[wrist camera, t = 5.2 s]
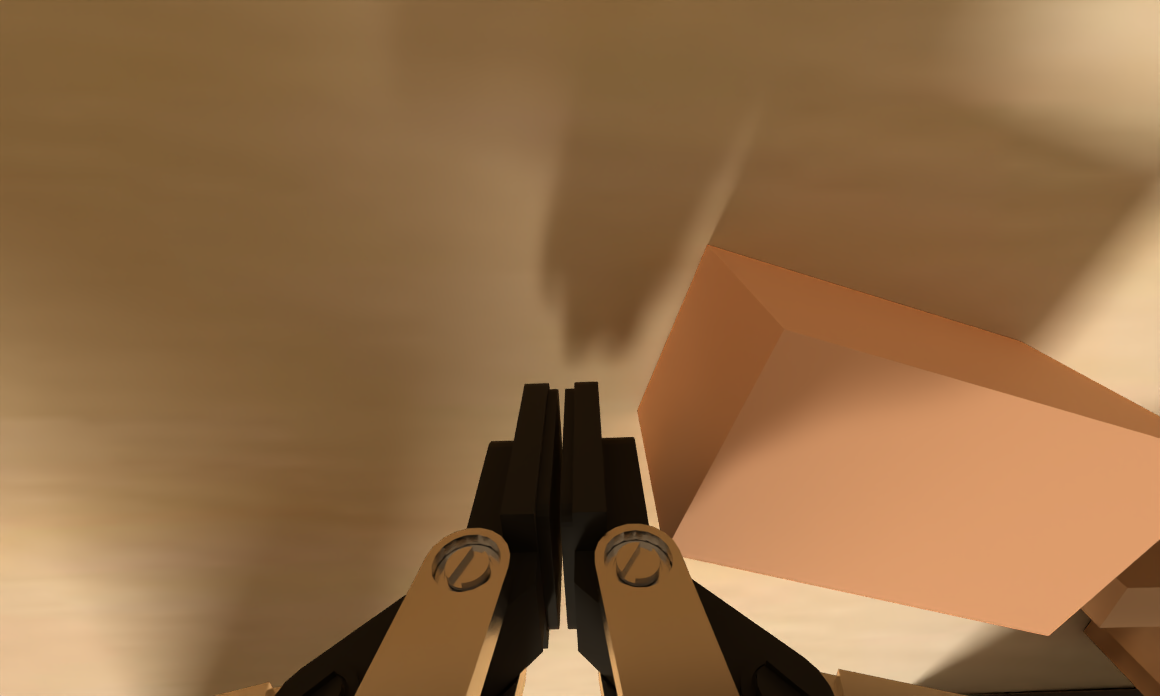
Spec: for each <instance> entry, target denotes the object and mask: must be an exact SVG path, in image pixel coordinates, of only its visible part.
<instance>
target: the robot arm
mask: <svg viewBox="0 0 1160 696" xmlns="http://www.w3.org/2000/svg"><path fill="white" fill-rule="evenodd" d="M562 556H563V569H564V583H565V596H566V610H567V624H568V629H577V638H578V651H579V652H580V653H581V654H582V655H583V656H584V657H585V658H586V659H587V660H588V661H589V662H590V663H591V664H592V665H593V666H594V667H595V668H596V669H597V670H598V676H599V685H600V691H601V696H966V695H962V694H957V693H952V692H947V691H942V690H938V689H933V688H928V687H923V686H918V685H914V684H909V683H904V682H899V681H894V680H889V679H885V678H880V677H875V676H870V675H865V674H861V673H856V672H851V671H846V670H841V669H838V672H837V675H831V674H826V673H822V672H820V671H819V670H818V669H817V668H816V667H814V666H813V665H812V664H811V663H810V662H809V661H808V660H806V659H805V658H804V657H803V656H801V655H800V654H798V653H797V652H796V651H794V650H793V649H791V648H790V647H788V646H787V645H786V644H784V643H783V642H781V641H780V640H778V639H777V638H776V637H774V636H773V635H771V634H770V633H768V632H767V631H765V630H764V629H763V628H761V627H760V626H758V625H757V624H755V623H754V622H753V621H751V620H750V619H748V618H747V617H745V616H744V615H743V614H741V613H740V612H738V611H737V610H735V609H734V608H733V607H731V606H730V605H728V604H727V603H725V602H724V601H723V600H721V599H720V598H718V597H717V596H715V595H714V594H713V593H711V592H710V591H708V590H707V589H705V588H704V587H703V586H701V585H700V584H698V583H697V582H695V581H694V580H693V579H692V578H691V576H690V574H689V571H688V569H687V566H686V564H685V561H684V559H683V557H682V554H681V552H680V550H679V548H678V546H677V545H676V543H675V542H674V540H673V539H672V538H670V537H669V536H668V535H667V534H666V533H665V532H663V531H661V530H659V529H657V528H655V527H653V526H649V523H648V517H647V511H646V505H645V499H644V493H643V487H642V481H641V474H640V468H639V462H638V456H637V450H636V444H635V439H634V437H621V438H602V437H601V422H600V407H599V392H598V382H575V383H574V389H565V406H564V427H563V447H562V437H561V421H560V406H559V392H558V389H550V387H549V383H541V384H525V386H524V391H523V396H522V401H521V406H520V411H519V417H518V422H517V427H516V432H515V438H514V441H491V442H490V444H489V446H488V450H487V454H486V457H485V461H484V465H483V469H482V473H481V476H480V480H479V484H478V488H477V492H476V496H475V499H474V503H473V507H472V511H471V515H470V518H469V522H468V526H467V529H464V530H460V531H456V532H454V533H452V534H450V535H448V536H446V537H444V538H443V539H442V540H440V541H439V542H438V543H437V544H436V545H435V546H433V548H432V549H431V550H430V552H429V553H428V555H427V556H426V557H425V559H424V561H423V563H422V565H421V567H420V569H419V571H418V573H417V575H416V577H415V579H414V581H413V583H412V585H411V587H410V589H409V591H408V592H407V594H406V595H405V596H403V597H402V598H401V599H399V600H398V601H396V602H395V603H394V604H392V605H391V606H389V607H388V608H386V609H385V610H384V611H382V612H381V613H379V614H378V615H377V616H375V617H374V618H372V619H371V620H369V621H368V622H367V623H365V624H364V625H362V626H361V627H360V628H358V629H357V630H355V631H354V632H352V633H351V634H350V635H348V636H347V637H345V638H344V639H343V640H341V641H340V642H338V643H337V644H335V645H334V646H333V647H331V648H330V649H328V650H327V651H326V652H324V653H323V654H321V655H320V656H318V657H317V658H316V659H314V660H313V661H311V662H310V663H309V664H307V665H306V666H304V667H303V668H301V669H300V670H299V671H298V672H297V673H295V674H294V675H293V676H292V677H291V678H290V679H288V680H287V681H286V682H285V683H284V684H283V686H279V687H276V688H272V686H271V684H270V682H266V683H262V684H258V685H254V686H250V687H246V688H242V689H238V690H235V691H231V692H227V693H223V694H219V695H215V696H522V695H523V691H524V686H525V682H526V667H527V666H529V665H530V664H531V663H532V662H533V661H534V660H535V659H536V658H537V657H538V656H539V655H540V654H541V653H542V652H543V649H545V648H548V640H549V629H559V626H560V603H561V576H562Z"/></svg>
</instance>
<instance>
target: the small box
mask: <svg viewBox="0 0 1160 696" xmlns="http://www.w3.org/2000/svg"><path fill="white" fill-rule="evenodd" d="M966 696H1144V695H1143V694H1142V693H1141V692H1140V691H1139V690H1138V689H1117V690H1089V691H1064V692H1036V693H1009V694H976V695H966Z"/></svg>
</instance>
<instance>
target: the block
mask: <svg viewBox="0 0 1160 696" xmlns="http://www.w3.org/2000/svg"><path fill="white" fill-rule="evenodd" d="M637 412H638V417H639V422H640V427H641V433H642V438H643V443H644V448H645V453H646V459H647V464H648V469H649V474H650V480H651V485H652V490H653V495H654V501H655V506H656V511H657V516H658V522H659V527H660V530H661V531H663V532H665V533H666V534H667V535H668V536H669V537H670V538H672V539H673V540H674V542H675V543H676V545H677V546H678V548H679V550H680V552H681V554H682V557H685V558H690V559H694V560H699V561H703V562H708V563H713V564H717V565H722V566H727V567H731V568H736V569H740V570H745V571H750V572H754V573H759V574H764V575H768V576H773V577H777V578H782V579H787V580H791V581H796V582H801V583H805V584H810V585H814V586H819V587H824V588H828V589H833V590H838V591H842V592H847V593H851V594H856V595H861V596H865V597H870V598H874V599H879V600H884V601H888V602H893V603H898V604H902V605H907V606H911V607H916V608H921V609H925V610H930V611H935V612H939V613H944V614H948V615H953V616H958V617H962V618H967V619H972V620H976V621H981V622H985V623H990V624H995V625H999V626H1004V627H1009V628H1013V629H1018V630H1022V631H1027V632H1032V633H1036V634H1041V635H1046V636H1049V635H1050V634H1051V633H1053V632H1054V631H1055V630H1056V629H1057V628H1058V627H1060V626H1061V625H1062V624H1063V623H1064V622H1065V621H1066V620H1068V619H1069V618H1070V617H1071V616H1072V615H1073V614H1074V613H1076V612H1077V611H1078V610H1079V609H1080V608H1081V607H1083V606H1084V605H1085V604H1086V603H1087V602H1088V601H1089V600H1091V599H1092V598H1093V597H1094V596H1095V595H1096V594H1097V593H1099V592H1100V591H1101V590H1102V589H1103V588H1104V587H1106V586H1107V585H1108V584H1109V583H1110V582H1111V581H1112V580H1114V579H1115V578H1116V577H1117V576H1118V575H1119V574H1120V573H1122V572H1123V571H1124V570H1125V569H1126V568H1127V567H1129V566H1130V565H1131V564H1132V563H1133V562H1134V561H1135V560H1137V559H1138V558H1139V557H1140V556H1141V555H1142V554H1143V553H1145V552H1146V551H1147V550H1148V549H1149V548H1150V547H1152V546H1153V545H1154V544H1155V543H1156V542H1157V541H1158V540H1160V416H1158V415H1156V414H1154V413H1152V412H1150V411H1149V410H1147V409H1145V408H1143V407H1141V406H1139V405H1138V404H1136V403H1134V402H1132V401H1130V400H1128V399H1126V398H1125V397H1123V396H1121V395H1119V394H1117V393H1115V392H1113V391H1112V390H1110V389H1108V388H1106V387H1104V386H1102V385H1101V384H1099V383H1097V382H1095V381H1093V380H1091V379H1089V378H1088V377H1086V376H1084V375H1082V374H1080V373H1078V372H1076V371H1075V370H1073V369H1071V368H1069V367H1067V366H1065V365H1064V364H1062V363H1060V362H1058V361H1056V360H1054V359H1052V358H1051V357H1049V356H1047V355H1045V354H1043V353H1041V352H1039V351H1038V350H1036V349H1034V348H1032V347H1030V346H1028V345H1027V344H1025V343H1023V342H1021V341H1018V340H1015V339H1012V338H1009V337H1005V336H1002V335H999V334H996V333H992V332H989V331H986V330H983V329H979V328H976V327H973V326H970V325H966V324H963V323H960V322H957V321H954V320H950V319H947V318H944V317H941V316H937V315H934V314H931V313H928V312H924V311H921V310H918V309H915V308H911V307H908V306H905V305H902V304H898V303H895V302H892V301H889V300H885V299H882V298H879V297H876V296H873V295H869V294H866V293H863V292H860V291H856V290H853V289H850V288H847V287H843V286H840V285H837V284H834V283H830V282H827V281H824V280H821V279H817V278H814V277H811V276H808V275H805V274H801V273H798V272H795V271H792V270H788V269H785V268H782V267H779V266H775V265H772V264H769V263H766V262H762V261H759V260H756V259H753V258H749V257H746V256H743V255H740V254H736V253H733V252H730V251H727V250H724V249H720V248H717V247H714V246H711V245H707V247H706V249H705V252H704V254H703V256H702V259H701V261H700V263H699V266H698V268H697V271H696V273H695V275H694V278H693V280H692V282H691V285H690V287H689V289H688V292H687V294H686V297H685V299H684V301H683V304H682V306H681V308H680V311H679V313H678V315H677V318H676V320H675V323H674V325H673V327H672V330H671V332H670V334H669V337H668V339H667V341H666V344H665V346H664V349H663V351H662V353H661V356H660V358H659V360H658V363H657V365H656V367H655V370H654V372H653V375H652V377H651V379H650V382H649V384H648V386H647V389H646V391H645V393H644V396H643V398H642V401H641V403H640V405H639V408H638V410H637Z"/></svg>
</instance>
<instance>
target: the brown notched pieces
mask: <svg viewBox="0 0 1160 696" xmlns="http://www.w3.org/2000/svg"><path fill="white" fill-rule="evenodd" d="M1081 609H1082V610H1083V611H1084V612H1085V613H1086V615H1087V616H1088V617H1089V618H1090V619H1091V622H1090V623H1089V625H1088V626H1087V627H1086V629H1085V630H1084V633H1085V634H1086V635H1087V636H1088V637H1089V638H1090V639H1091V640H1092V642H1093V643H1094V644H1095V645H1096V646H1097V647H1098V648H1099V649H1100V650H1101V651H1102V652H1103V653H1104V654H1105V655H1106V656H1107V657H1108V658H1109V659H1110V660H1111V661H1112V663H1113V664H1114V665H1115V666H1116V667H1117V668H1118V669H1119V670H1120V671H1121V672H1122V673H1123V674H1124V675H1125V676H1126V677H1127V678H1128V679H1129V680H1130V681H1131V683H1132V684H1133V685H1134V686H1135V687H1136V688H1137V689H1138V690H1139V691H1140V692H1141V693H1142V694H1143V695H1144V696H1160V540H1158V541H1157V542H1156V543H1155V544H1154V545H1153V546H1152V547H1150V548H1149V549H1148V550H1147V551H1146V552H1145V553H1143V554H1142V555H1141V556H1140V557H1139V558H1138V559H1137V560H1135V561H1134V562H1133V563H1132V564H1131V565H1130V566H1129V567H1127V568H1126V569H1125V570H1124V571H1123V572H1122V573H1120V574H1119V575H1118V576H1117V577H1116V578H1115V579H1114V580H1112V581H1111V582H1110V583H1109V584H1108V585H1107V586H1106V587H1104V588H1103V589H1102V590H1101V591H1100V592H1099V593H1097V594H1096V595H1095V596H1094V597H1093V598H1092V599H1091V600H1089V601H1088V602H1087V603H1086V604H1085V605H1084V606H1083V607H1081Z"/></svg>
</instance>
